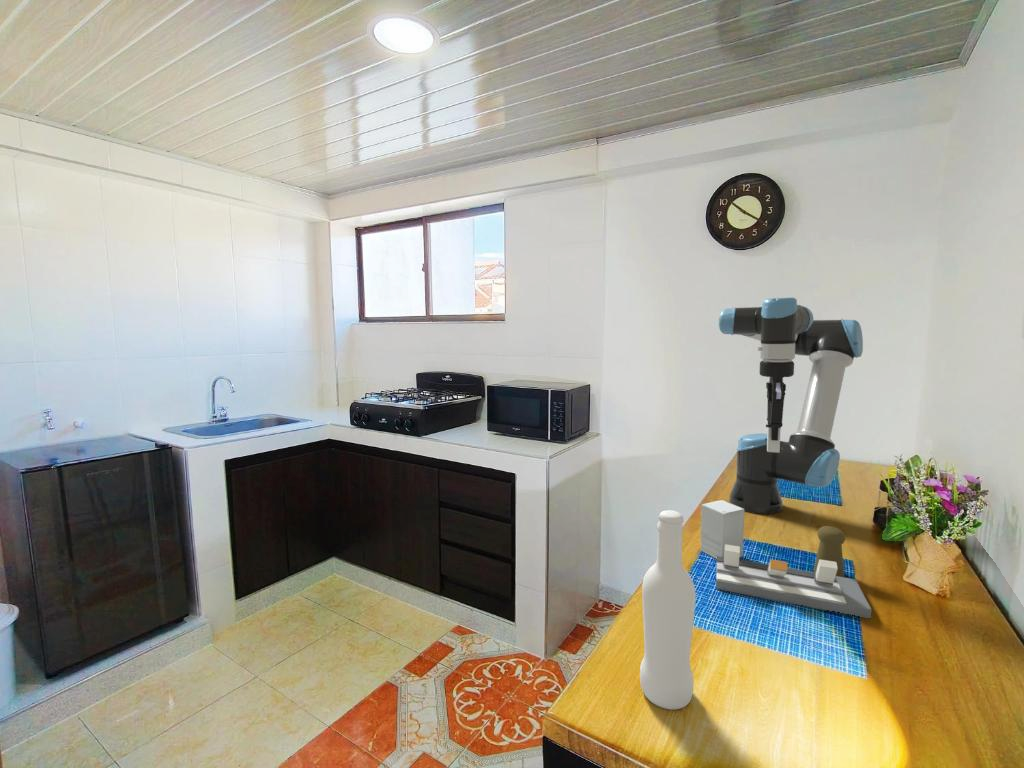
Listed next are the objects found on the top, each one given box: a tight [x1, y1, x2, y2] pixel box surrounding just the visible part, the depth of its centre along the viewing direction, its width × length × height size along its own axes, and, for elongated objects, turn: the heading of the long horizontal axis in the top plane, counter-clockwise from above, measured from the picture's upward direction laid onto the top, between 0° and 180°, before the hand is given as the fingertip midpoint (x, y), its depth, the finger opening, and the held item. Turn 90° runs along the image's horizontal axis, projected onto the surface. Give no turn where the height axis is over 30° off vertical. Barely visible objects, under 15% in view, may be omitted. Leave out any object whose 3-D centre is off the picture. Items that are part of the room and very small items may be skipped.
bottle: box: [639, 509, 697, 711], centre depth 73 cm, size 8×8×30 cm
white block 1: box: [723, 544, 740, 569], centre depth 106 cm, size 2×3×7 cm
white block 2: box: [814, 559, 838, 585], centre depth 98 cm, size 2×3×7 cm
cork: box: [812, 525, 846, 577], centre depth 108 cm, size 6×6×11 cm
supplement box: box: [700, 499, 745, 560], centre depth 118 cm, size 7×7×13 cm
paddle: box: [767, 558, 789, 577], centre depth 101 cm, size 2×3×7 cm
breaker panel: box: [715, 556, 872, 619], centre depth 103 cm, size 12×28×2 cm, turn 66°
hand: (773, 451), depth 120 cm, fingers closed
